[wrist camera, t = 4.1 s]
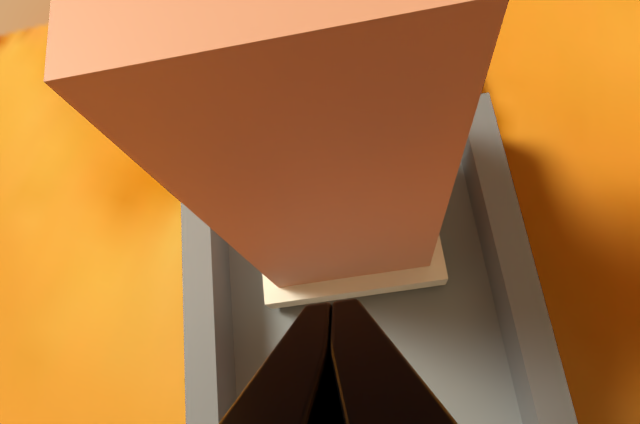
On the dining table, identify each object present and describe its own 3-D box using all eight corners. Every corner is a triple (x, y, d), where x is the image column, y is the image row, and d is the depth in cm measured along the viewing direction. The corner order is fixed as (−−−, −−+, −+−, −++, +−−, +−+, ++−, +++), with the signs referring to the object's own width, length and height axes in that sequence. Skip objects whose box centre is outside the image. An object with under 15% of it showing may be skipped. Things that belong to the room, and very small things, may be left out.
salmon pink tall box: (445, 284, 17) (576, 24, 5) (271, 309, 18) (-5, 129, 5) (413, 128, 19) (450, -331, 7) (258, 154, 20) (39, -229, 7)
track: (656, 858, 13) (730, 990, 10) (237, 875, 14) (198, 999, 11) (432, -39, 23) (437, -98, 20) (201, 6, 24) (175, -44, 21)
